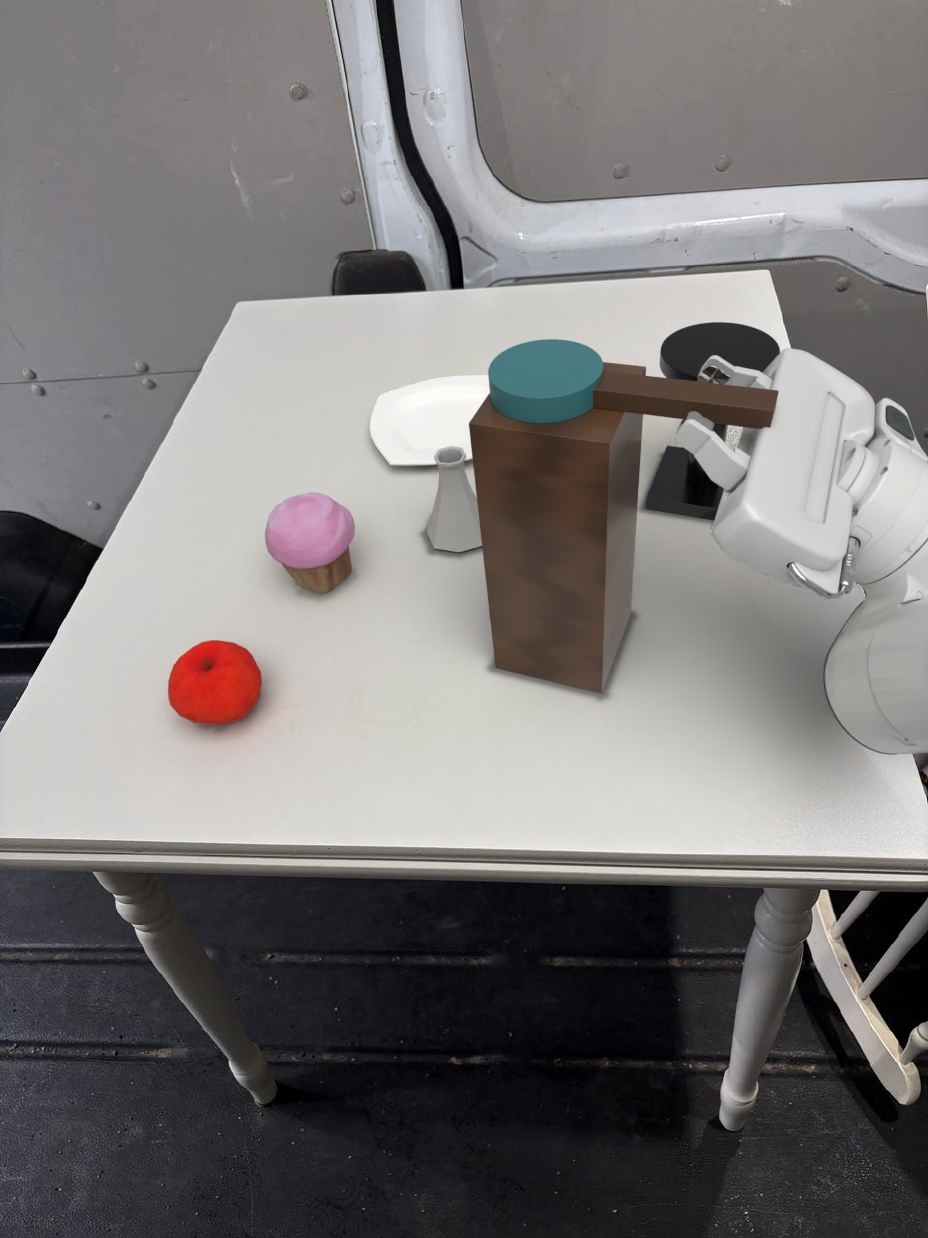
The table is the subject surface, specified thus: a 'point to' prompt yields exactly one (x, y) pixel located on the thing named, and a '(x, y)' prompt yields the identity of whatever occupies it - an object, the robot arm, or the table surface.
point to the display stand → (679, 472)
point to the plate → (427, 418)
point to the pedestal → (558, 537)
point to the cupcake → (311, 540)
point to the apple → (214, 683)
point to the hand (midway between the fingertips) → (692, 394)
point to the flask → (454, 505)
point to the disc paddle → (610, 389)
